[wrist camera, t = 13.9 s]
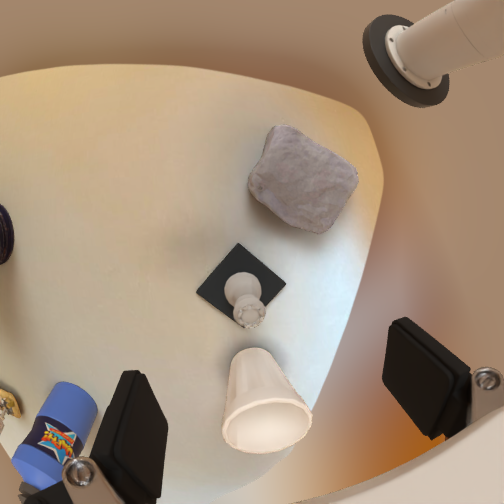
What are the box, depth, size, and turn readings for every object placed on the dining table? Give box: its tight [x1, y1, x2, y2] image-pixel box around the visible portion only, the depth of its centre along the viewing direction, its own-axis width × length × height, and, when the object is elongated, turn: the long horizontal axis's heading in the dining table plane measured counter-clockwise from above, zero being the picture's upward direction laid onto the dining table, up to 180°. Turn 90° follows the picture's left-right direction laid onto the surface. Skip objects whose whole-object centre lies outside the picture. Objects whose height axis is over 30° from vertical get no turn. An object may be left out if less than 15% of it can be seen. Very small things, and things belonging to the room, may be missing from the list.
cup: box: [222, 347, 313, 454], centre depth 31 cm, size 10×10×13 cm
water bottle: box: [11, 382, 97, 504], centre depth 24 cm, size 9×9×25 cm
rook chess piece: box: [224, 272, 266, 328], centre depth 30 cm, size 4×4×8 cm
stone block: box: [248, 125, 359, 234], centre depth 31 cm, size 12×5×10 cm
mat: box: [196, 243, 286, 328], centre depth 35 cm, size 8×8×1 cm
